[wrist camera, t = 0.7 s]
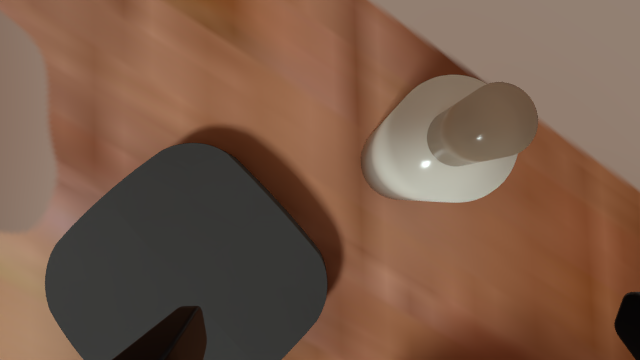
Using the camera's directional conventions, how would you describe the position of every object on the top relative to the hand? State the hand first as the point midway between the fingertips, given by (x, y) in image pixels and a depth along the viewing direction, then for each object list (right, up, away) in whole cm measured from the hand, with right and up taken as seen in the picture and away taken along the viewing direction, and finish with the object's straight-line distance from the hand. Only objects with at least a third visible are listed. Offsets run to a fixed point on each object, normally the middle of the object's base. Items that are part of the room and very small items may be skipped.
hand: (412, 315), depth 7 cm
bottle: (+4, +4, +16) cm, 17 cm away
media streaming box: (-10, -4, +16) cm, 19 cm away
